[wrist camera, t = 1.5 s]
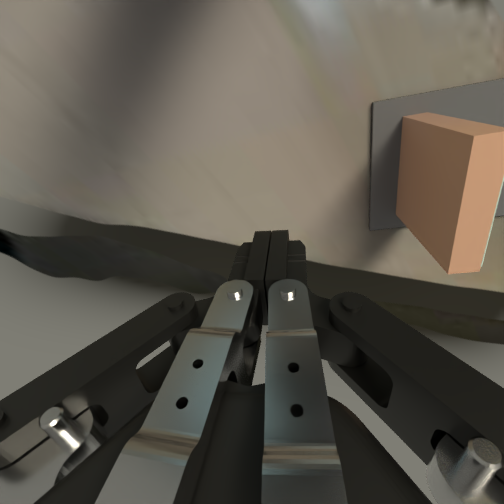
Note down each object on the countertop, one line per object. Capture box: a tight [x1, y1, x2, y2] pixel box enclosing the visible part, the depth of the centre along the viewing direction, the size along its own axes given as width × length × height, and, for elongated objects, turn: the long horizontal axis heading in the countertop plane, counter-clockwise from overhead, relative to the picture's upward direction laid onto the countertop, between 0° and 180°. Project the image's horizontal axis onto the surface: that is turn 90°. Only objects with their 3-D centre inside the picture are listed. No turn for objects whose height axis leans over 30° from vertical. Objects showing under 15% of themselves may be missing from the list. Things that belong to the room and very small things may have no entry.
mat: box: [369, 78, 504, 231], centre depth 34 cm, size 23×16×1 cm
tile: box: [396, 112, 504, 274], centre depth 29 cm, size 3×12×14 cm, turn 10°
